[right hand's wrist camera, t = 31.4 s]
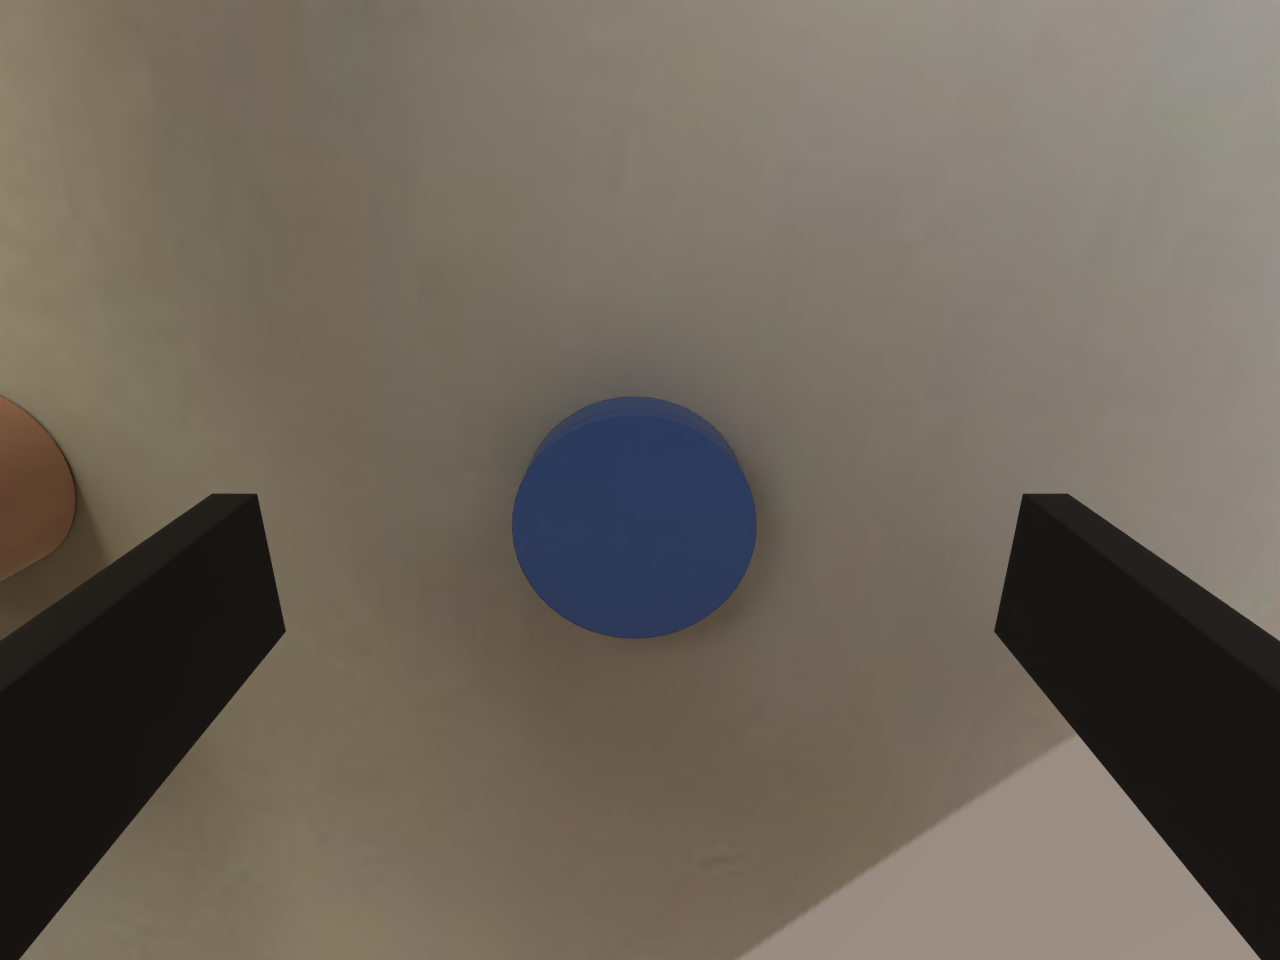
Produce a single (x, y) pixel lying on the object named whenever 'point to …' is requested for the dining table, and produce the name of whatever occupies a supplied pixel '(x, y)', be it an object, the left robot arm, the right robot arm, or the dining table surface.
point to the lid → (634, 518)
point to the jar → (30, 491)
